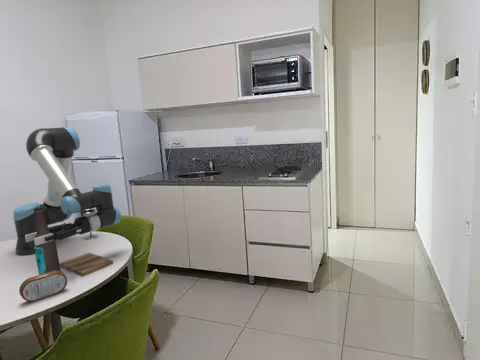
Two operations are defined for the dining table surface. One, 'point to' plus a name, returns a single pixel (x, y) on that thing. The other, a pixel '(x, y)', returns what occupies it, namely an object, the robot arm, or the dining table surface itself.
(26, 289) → the tin
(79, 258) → the serving board
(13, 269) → the dining table surface
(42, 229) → the beer bottle
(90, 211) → the wine glass
